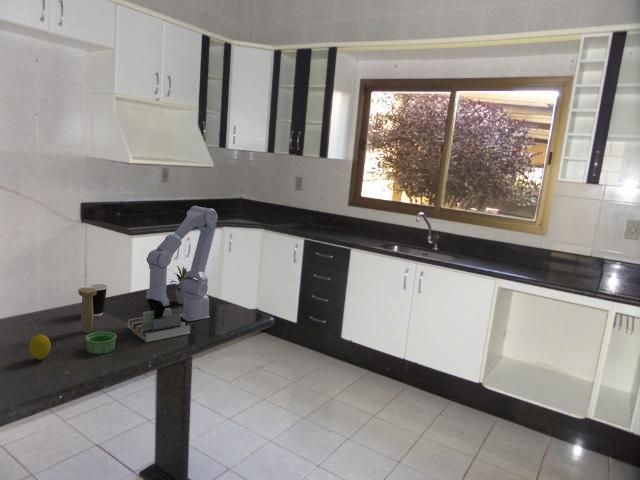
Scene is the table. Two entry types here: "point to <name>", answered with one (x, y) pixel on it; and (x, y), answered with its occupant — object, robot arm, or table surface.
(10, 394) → the table surface
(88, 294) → the handle
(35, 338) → the lemon
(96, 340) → the ramekin
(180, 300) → the house plant
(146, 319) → the panel
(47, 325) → the table surface
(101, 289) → the dixie cup
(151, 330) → the rack
